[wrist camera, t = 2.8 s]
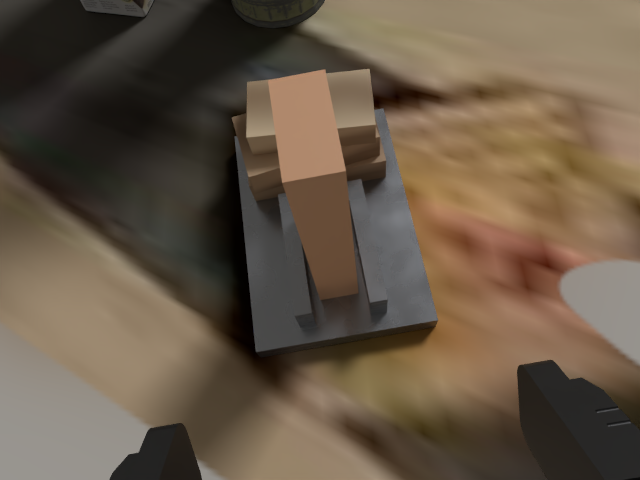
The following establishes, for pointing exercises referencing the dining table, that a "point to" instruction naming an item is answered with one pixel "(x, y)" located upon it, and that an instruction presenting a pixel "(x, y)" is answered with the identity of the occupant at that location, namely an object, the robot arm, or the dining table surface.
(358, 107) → the offcut pile
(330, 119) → the board
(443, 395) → the dining table surface
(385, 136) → the rack
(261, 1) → the thermos
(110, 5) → the coffee box
